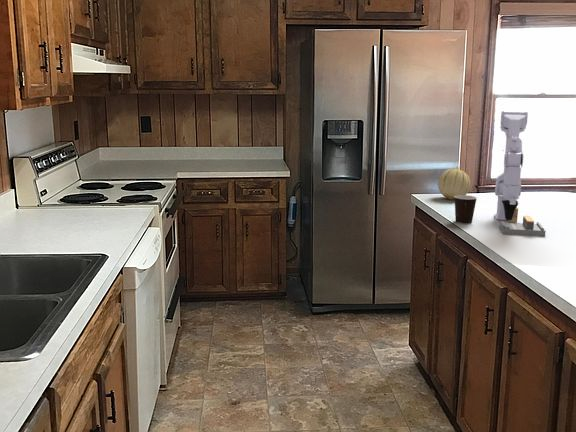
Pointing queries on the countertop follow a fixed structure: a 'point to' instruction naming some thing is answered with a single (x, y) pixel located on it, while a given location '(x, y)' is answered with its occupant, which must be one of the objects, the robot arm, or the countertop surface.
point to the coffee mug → (464, 208)
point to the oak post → (514, 216)
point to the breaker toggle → (528, 222)
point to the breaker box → (521, 229)
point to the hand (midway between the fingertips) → (508, 219)
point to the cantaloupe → (453, 183)
